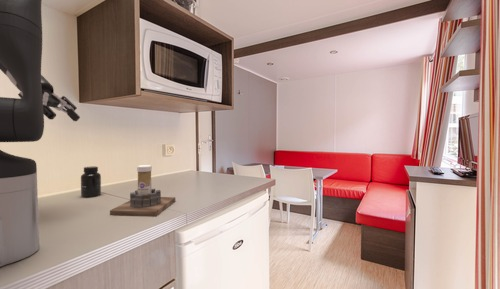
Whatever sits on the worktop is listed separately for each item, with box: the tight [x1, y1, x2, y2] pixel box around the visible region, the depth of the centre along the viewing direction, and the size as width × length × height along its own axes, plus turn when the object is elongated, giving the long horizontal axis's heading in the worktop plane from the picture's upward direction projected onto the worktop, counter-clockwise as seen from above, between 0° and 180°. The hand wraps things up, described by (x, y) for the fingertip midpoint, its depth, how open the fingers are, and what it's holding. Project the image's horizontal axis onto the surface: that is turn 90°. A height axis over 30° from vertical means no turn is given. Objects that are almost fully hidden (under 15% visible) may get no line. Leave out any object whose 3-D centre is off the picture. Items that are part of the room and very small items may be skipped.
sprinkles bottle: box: [136, 164, 153, 199], centre depth 77 cm, size 5×5×14 cm
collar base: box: [109, 188, 176, 217], centre depth 78 cm, size 16×15×6 cm
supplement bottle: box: [80, 165, 102, 198], centre depth 92 cm, size 7×7×12 cm
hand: (66, 118), depth 70 cm, fingers open, 8 cm apart
